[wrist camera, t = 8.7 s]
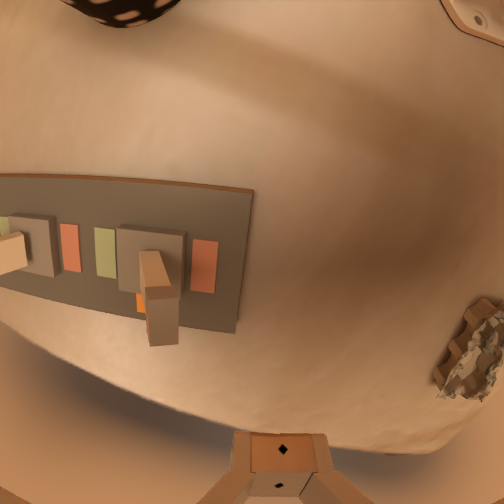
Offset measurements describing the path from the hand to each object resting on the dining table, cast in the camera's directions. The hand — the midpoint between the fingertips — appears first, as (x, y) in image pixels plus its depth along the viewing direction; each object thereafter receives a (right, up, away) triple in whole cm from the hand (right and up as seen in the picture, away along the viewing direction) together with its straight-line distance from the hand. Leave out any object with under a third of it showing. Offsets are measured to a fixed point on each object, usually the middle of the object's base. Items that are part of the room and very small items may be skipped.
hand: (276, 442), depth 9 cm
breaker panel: (-17, +8, +12) cm, 23 cm away
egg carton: (+21, -3, +16) cm, 26 cm away
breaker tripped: (-7, +5, +10) cm, 14 cm away
